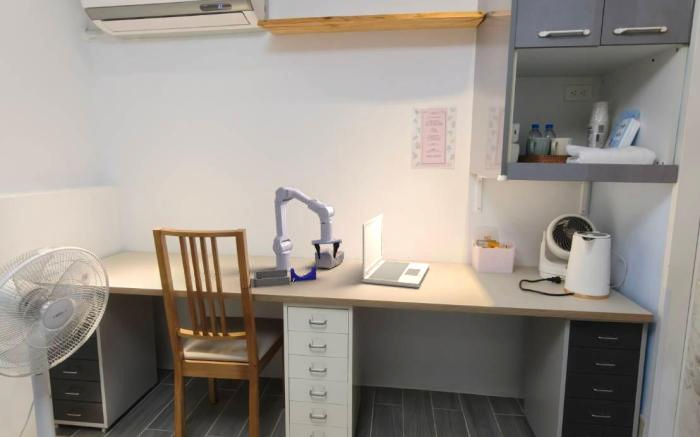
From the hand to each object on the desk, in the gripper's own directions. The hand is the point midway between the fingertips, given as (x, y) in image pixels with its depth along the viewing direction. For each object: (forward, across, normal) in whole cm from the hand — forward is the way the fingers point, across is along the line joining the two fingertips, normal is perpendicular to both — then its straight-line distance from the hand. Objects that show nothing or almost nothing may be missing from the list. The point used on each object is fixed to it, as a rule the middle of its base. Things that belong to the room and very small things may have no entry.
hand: (326, 258), depth 195 cm
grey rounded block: (+10, +5, +22) cm, 24 cm away
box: (+9, -27, 0) cm, 29 cm away
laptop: (+10, +35, -6) cm, 36 cm away
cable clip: (+10, -12, -1) cm, 15 cm away
